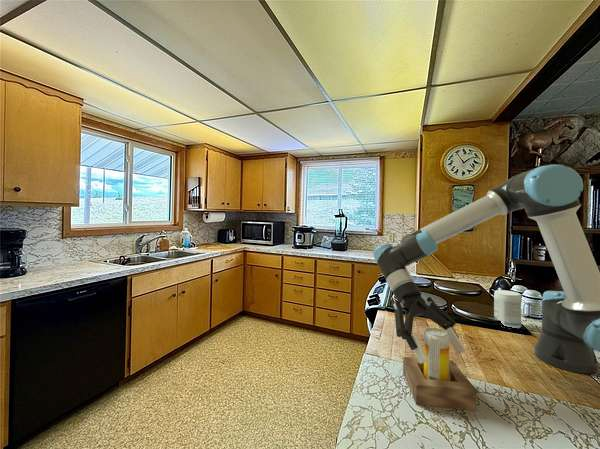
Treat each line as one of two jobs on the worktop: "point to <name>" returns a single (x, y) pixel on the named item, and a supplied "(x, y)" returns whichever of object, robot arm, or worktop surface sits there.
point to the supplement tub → (508, 308)
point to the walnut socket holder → (439, 387)
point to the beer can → (436, 354)
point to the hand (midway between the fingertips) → (443, 357)
